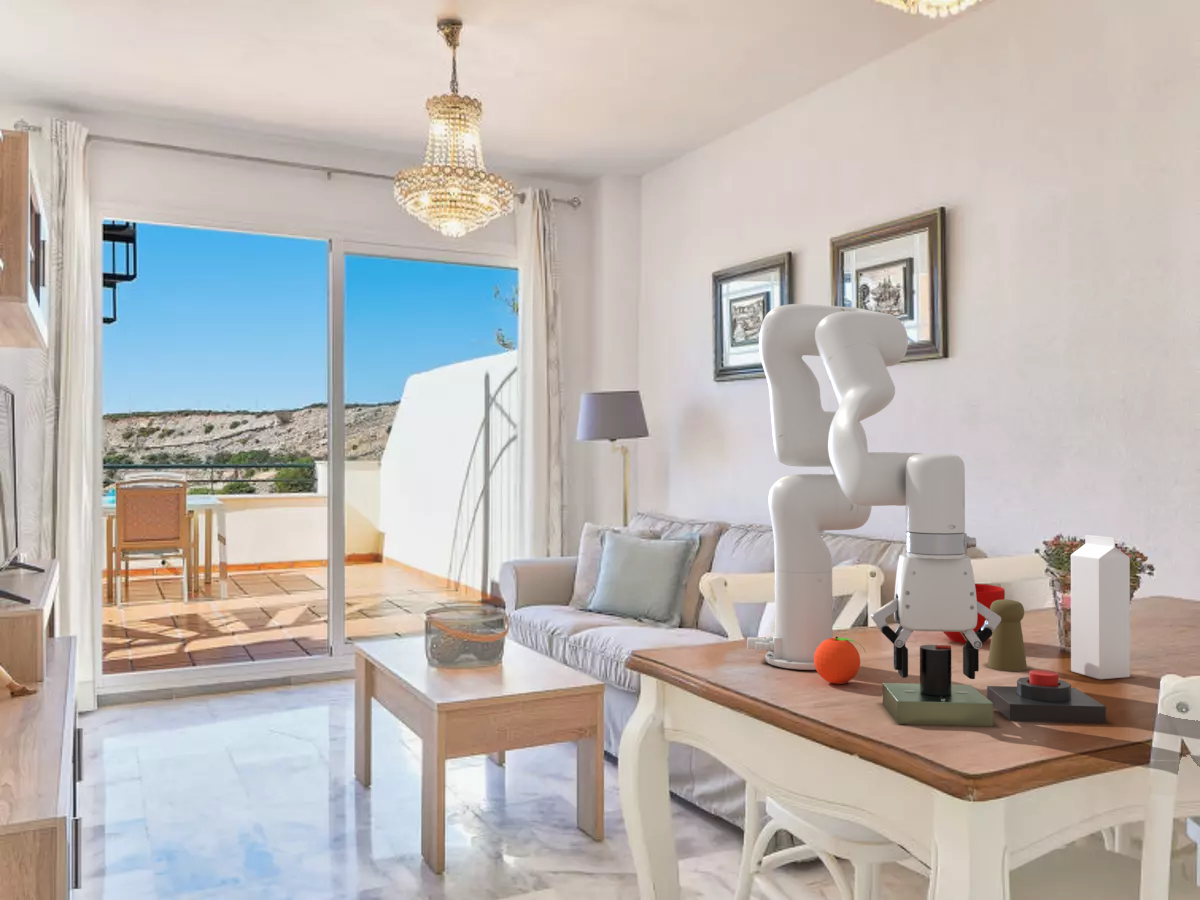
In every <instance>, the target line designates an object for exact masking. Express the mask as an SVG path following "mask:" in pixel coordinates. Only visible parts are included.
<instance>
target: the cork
mask: <svg viewBox="0 0 1200 900" xmlns="http://www.w3.org/2000/svg"><path fill="white" fill-rule="evenodd" d="M990 610H991V611H993V612H994V613H996V614H997V615H999V616H1000V617H1001V622H1000V623H999V625H998V626H997V627H996V629H995V630H994V631H993V632H992V636H991V637H990V644H989V652H988V658H987V667H988V668H990V669H993V670H998V671H1004V672H1005V671H1006V672H1024V671H1026V670H1028V664H1027V657H1026V651H1025V644H1024V635H1023V630H1022V620H1023V619H1024V617H1025V607H1024V605H1023V604H1022V603H1021V602H1020V601H1017V600H1015V599H1014V600H1013V599H1006V598H1005V599H1003V600H996V601H994V602H992V604H991V606H990Z"/></svg>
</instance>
